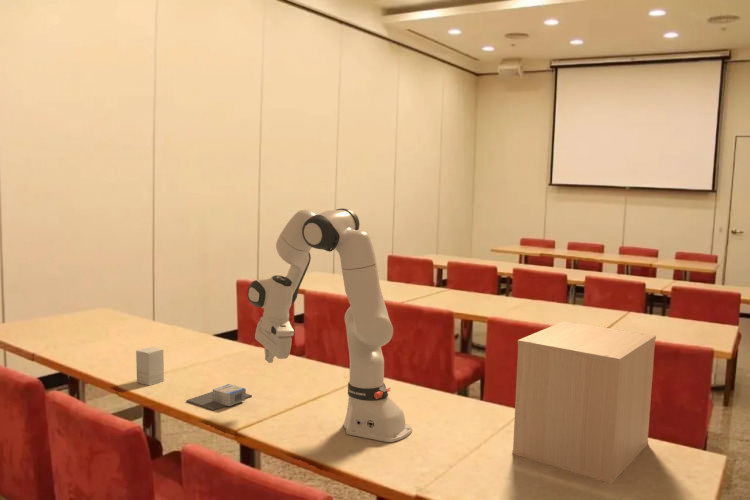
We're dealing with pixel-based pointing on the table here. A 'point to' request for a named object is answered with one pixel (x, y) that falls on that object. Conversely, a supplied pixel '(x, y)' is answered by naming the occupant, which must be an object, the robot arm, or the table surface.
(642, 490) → the table surface
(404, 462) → the table surface
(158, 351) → the supplement box
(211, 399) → the mat
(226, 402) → the medicine box
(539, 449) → the cabinet
